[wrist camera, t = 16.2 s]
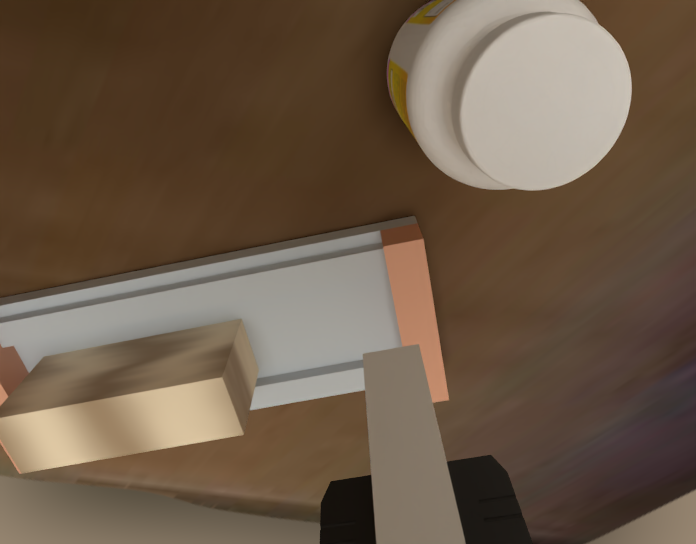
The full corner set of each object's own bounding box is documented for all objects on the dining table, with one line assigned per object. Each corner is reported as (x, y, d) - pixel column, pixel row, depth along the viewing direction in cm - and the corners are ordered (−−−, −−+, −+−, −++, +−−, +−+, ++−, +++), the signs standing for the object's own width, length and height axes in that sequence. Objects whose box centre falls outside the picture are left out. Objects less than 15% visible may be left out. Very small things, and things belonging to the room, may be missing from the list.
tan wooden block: (241, 318, 31) (222, 377, 26) (258, 369, 32) (244, 434, 27) (43, 356, 31) (-13, 420, 26) (69, 404, 33) (21, 473, 28)
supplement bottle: (471, 161, 28) (564, 262, 16) (360, 98, 27) (376, 160, 15) (550, 38, 26) (724, 56, 14) (433, -38, 24) (518, -89, 13)
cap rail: (47, 434, 35) (19, 473, 32) (-28, 303, 31) (-68, 334, 28) (439, 364, 34) (448, 399, 30) (414, 215, 29) (423, 238, 26)
